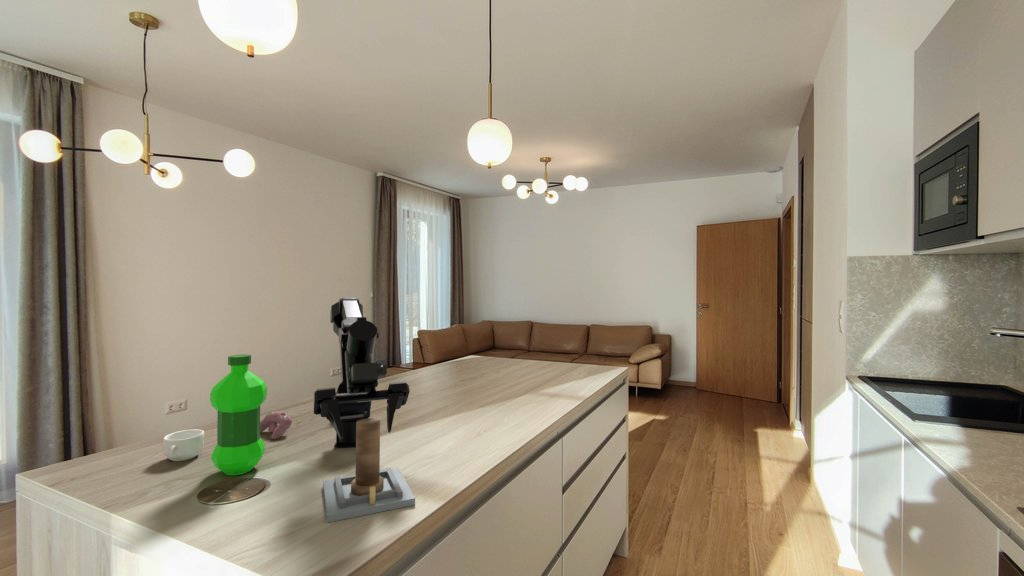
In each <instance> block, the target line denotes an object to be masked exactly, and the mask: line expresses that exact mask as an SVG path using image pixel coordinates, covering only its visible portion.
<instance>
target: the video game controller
mask: <svg viewBox="0 0 1024 576" xmlns="http://www.w3.org/2000/svg"><path fill="white" fill-rule="evenodd" d="M292 423H293V419H292V417H290V416H289V415H288V413H286V412H283V411H270V412H268V414H266V415H265V416H264V417H263V419H262V420H260V432H261V433H263V432H264V431H265V430H267V431H268V433H271V440H277V439H279V438H281V437H282V436H283V435H284V434H285V433H286V432H287V431H288V429H289V428H291V426H292ZM272 432H273V433H272Z"/></svg>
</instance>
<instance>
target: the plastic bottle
mask: <svg viewBox="0 0 1024 576" xmlns="http://www.w3.org/2000/svg"><path fill="white" fill-rule="evenodd" d="M251 363H252V355H251V354H250V353H249V354H247V353H245V354H243V353H241V354H234V355H229V356H227V365H228V366H230V372H229V373H228V374H227V375H226V376H224V377H223V378H221V380H220V381H219V382H217V383H216V384H215V385H214V386H213V387H212V389H211V391H210V394H209V395H210V397H209V399H210V403H211V404H210V405H211V407H213V408H214V409H215V410H216V411H217V418H216V419H217V421H216V423H217V424H216V425H217V429H216V431H217V436H216V437H217V439H216V440H217V443H216V446H215V447H214V449H213V452H212V454H211V462H212V463H213V466H214V467H215V468H216V469H218V470H220V471H221V472H223V474H225V475H227V476H239V475H243V474H246V473H248V472H250V471H252V470H253V468H254V467H256V466H257V465H258V463H259V462H260V461H261V459H262V458H263V455H265V452H266V451H265V450H266V446H265V443H264V441H263V438H261V433H260V422H261V405H262V404H263V403H264V402H265V400H267V395H268V386H267V384H266V383H265V381H264V380H263V379H261V378H260V377H258V376H257V375H255V374H254V373H253V372H251V371H249V365H251Z"/></svg>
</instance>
